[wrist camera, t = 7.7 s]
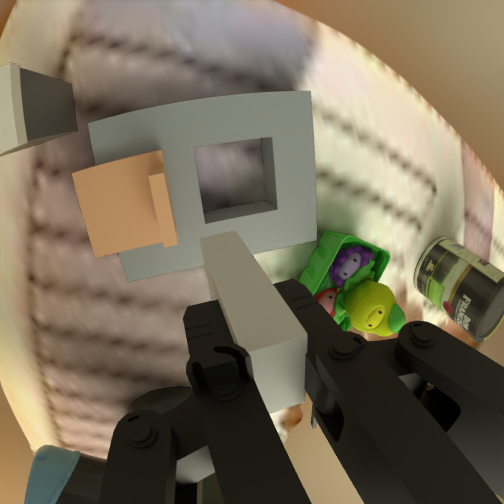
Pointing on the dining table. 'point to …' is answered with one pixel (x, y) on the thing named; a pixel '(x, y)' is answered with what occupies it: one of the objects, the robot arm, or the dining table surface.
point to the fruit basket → (353, 284)
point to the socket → (186, 180)
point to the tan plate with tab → (126, 203)
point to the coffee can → (462, 286)
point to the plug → (33, 108)
